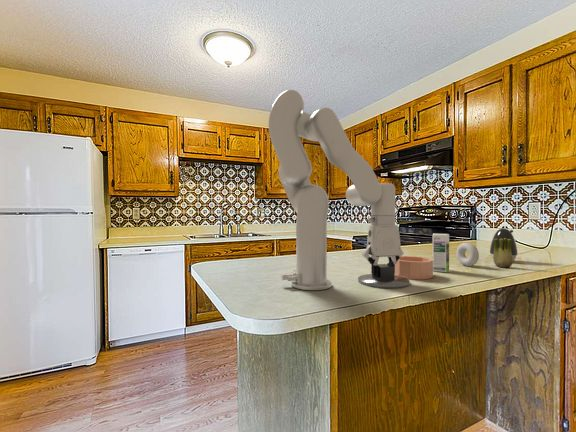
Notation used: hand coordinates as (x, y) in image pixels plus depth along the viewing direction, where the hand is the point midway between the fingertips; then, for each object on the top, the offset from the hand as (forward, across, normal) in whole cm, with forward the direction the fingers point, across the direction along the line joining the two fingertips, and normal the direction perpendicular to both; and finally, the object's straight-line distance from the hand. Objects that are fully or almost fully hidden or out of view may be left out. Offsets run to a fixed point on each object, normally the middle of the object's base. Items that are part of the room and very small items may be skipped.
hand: (383, 275), depth 95 cm
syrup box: (+2, +32, +10) cm, 33 cm away
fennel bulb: (+3, +62, +9) cm, 63 cm away
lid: (+2, 0, 0) cm, 2 cm away
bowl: (+2, +16, +6) cm, 17 cm away
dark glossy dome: (+3, +76, +20) cm, 78 cm away
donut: (+3, +50, +15) cm, 52 cm away
